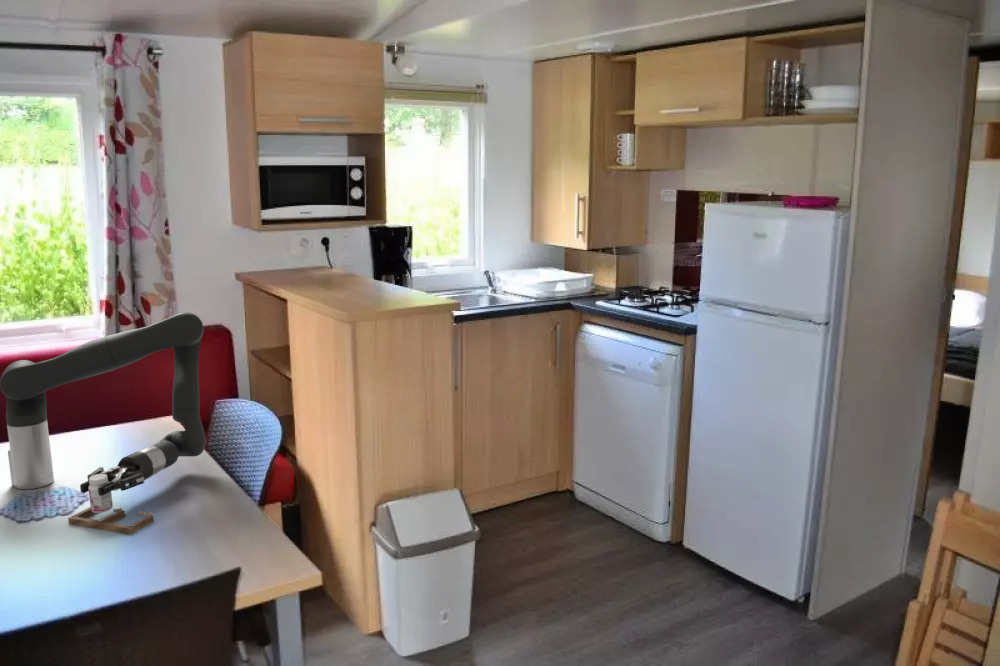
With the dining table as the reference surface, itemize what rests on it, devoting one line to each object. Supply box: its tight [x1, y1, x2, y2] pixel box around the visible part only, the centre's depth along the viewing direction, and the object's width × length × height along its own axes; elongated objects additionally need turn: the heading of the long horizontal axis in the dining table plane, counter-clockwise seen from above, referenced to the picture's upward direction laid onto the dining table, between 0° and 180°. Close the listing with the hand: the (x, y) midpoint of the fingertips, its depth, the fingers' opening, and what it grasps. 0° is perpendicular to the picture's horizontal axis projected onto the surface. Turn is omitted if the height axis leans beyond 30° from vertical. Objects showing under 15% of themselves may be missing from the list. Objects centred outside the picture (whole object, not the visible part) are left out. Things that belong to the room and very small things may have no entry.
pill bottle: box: [88, 474, 114, 514], centre depth 197 cm, size 5×5×8 cm
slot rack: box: [67, 506, 155, 536], centre depth 197 cm, size 18×11×2 cm, turn 71°
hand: (90, 490), depth 194 cm, fingers closed on pill bottle, 4 cm apart
